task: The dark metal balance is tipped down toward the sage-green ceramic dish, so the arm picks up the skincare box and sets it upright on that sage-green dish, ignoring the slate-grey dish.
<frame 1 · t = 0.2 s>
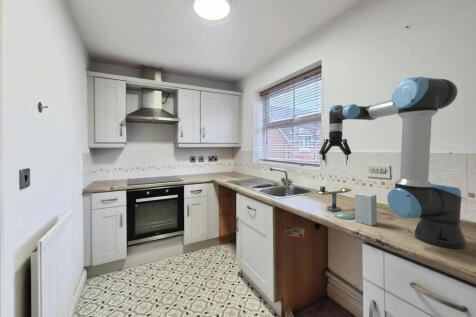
hand: (335, 165, 130), 28 cm above the worktop, fingers open, 13 cm apart
dish green: (343, 216, 118), on the worktop
dish grey: (361, 215, 120), on the worktop
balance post: (334, 209, 132), on the worktop
balance beam: (334, 189, 132), point 12 cm above the worktop, hinge at -3.5°
skincare box: (365, 223, 108), on the worktop
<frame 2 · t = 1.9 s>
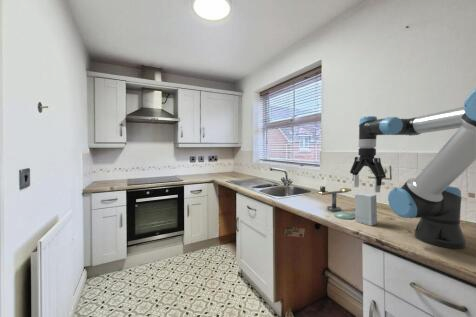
hand: (365, 189, 107), 17 cm above the worktop, fingers open, 13 cm apart
nothing on the worktop moved.
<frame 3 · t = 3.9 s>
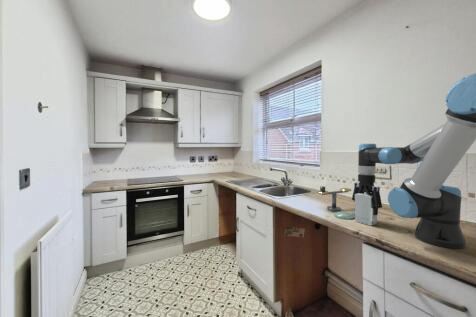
hand: (365, 217, 108), 3 cm above the worktop, fingers closed on skincare box, 9 cm apart
skincare box: (365, 223, 108), on the worktop, touching gripper
everything else where it was.
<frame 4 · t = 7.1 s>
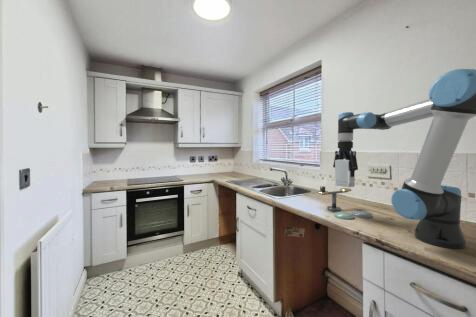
hand: (344, 181, 117), 20 cm above the worktop, fingers closed on skincare box, 9 cm apart
skincare box: (344, 186, 117), point 17 cm above the worktop, touching gripper
everything else where it was.
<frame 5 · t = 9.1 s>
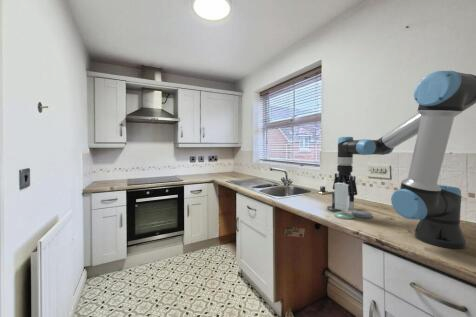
hand: (343, 204, 117), 7 cm above the worktop, fingers closed on skincare box, 9 cm apart
skincare box: (343, 209, 118), point 4 cm above the worktop, touching gripper
everything else where it was.
when the fingers open (5 cm above the worktop, at t = 10.5 s): skincare box stays where it is, resting on dish green.
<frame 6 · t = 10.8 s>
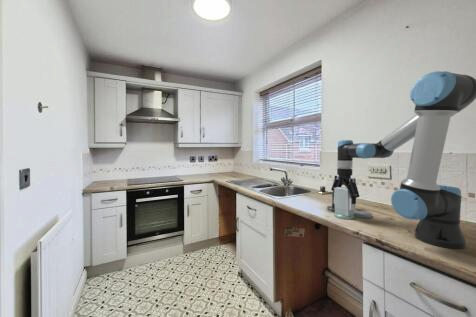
hand: (343, 206, 117), 6 cm above the worktop, fingers open, 12 cm apart
skincare box: (343, 214, 118), point 1 cm above the worktop, touching dish green
everything else where it was.
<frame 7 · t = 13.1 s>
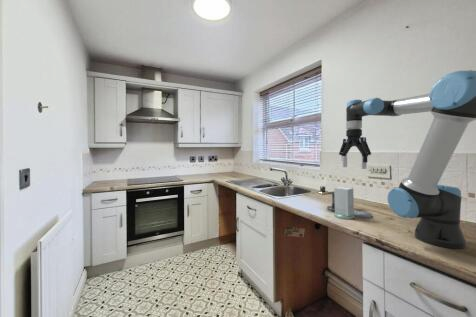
hand: (353, 168, 116), 27 cm above the worktop, fingers open, 13 cm apart
nothing on the worktop moved.
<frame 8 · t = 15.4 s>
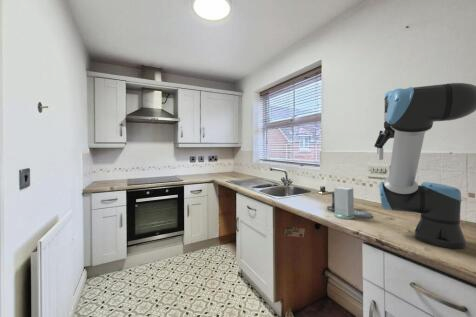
hand: (391, 160, 114), 32 cm above the worktop, fingers open, 13 cm apart
nothing on the worktop moved.
at the end: skincare box 0.1 cm from the dish green (horizontally); skincare box point 1.1 cm above the worktop; skincare box tilted 0° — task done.
